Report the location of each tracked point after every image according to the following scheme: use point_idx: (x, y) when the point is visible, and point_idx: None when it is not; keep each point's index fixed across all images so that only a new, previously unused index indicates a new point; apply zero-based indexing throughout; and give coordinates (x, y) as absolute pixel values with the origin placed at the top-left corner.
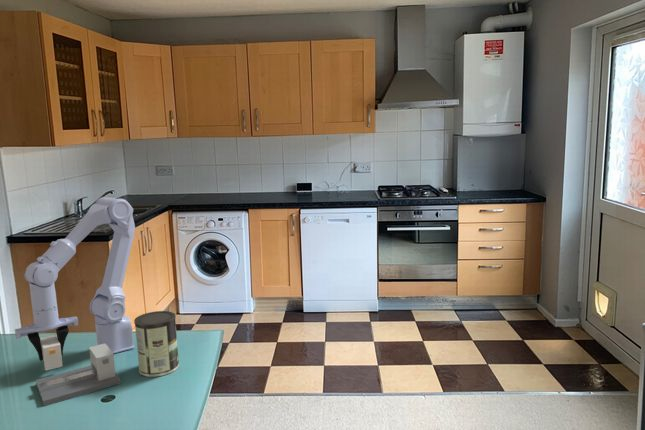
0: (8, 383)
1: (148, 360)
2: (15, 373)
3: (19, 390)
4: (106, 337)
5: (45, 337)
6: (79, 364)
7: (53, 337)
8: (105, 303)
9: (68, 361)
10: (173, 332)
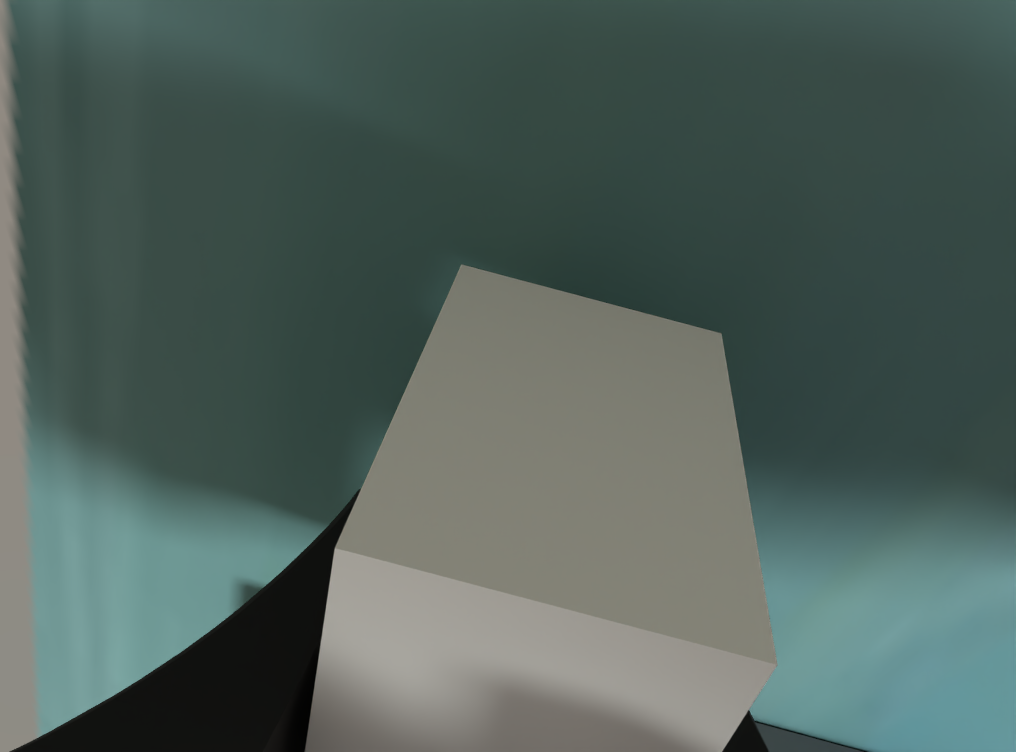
0: (51, 352)
1: None
2: (136, 123)
3: (145, 575)
4: None
5: (495, 633)
6: (838, 551)
7: None
8: None
9: (824, 362)
10: None
